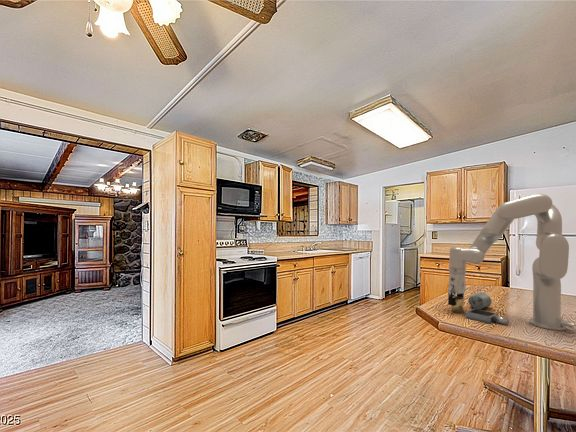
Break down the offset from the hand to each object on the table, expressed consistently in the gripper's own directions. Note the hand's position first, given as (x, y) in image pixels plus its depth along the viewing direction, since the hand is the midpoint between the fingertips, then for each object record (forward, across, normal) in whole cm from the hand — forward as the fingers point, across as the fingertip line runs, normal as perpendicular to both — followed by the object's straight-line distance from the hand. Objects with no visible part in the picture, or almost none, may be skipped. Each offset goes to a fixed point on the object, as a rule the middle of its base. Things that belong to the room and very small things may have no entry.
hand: (455, 303), depth 152 cm
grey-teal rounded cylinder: (+4, +19, -5) cm, 20 cm away
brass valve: (+4, 0, -1) cm, 4 cm away
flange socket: (+4, -2, -15) cm, 16 cm away
